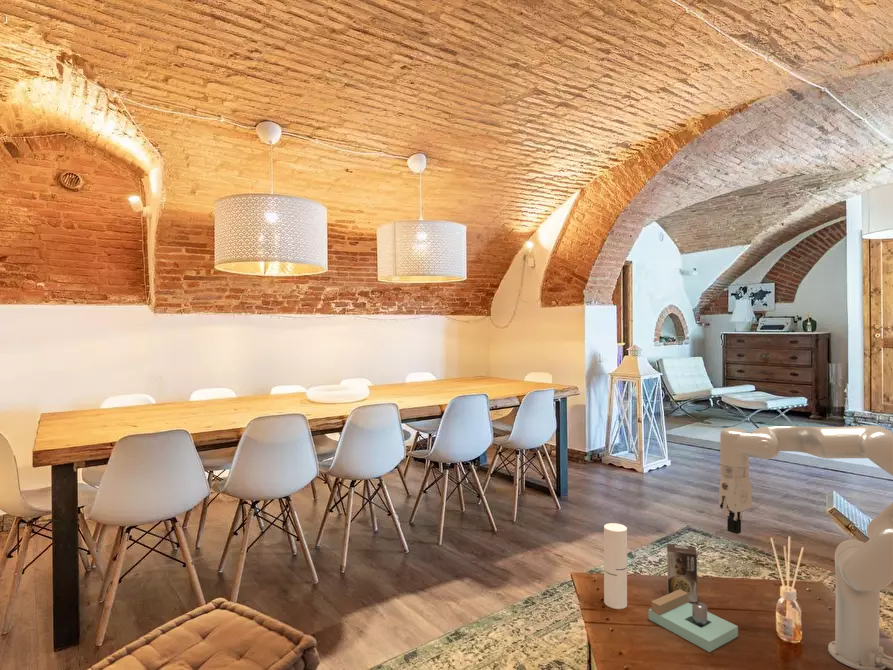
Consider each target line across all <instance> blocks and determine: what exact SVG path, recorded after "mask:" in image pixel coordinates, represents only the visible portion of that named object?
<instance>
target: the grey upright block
mask: <svg viewBox="0 0 893 670" xmlns="http://www.w3.org/2000/svg"><path fill="white" fill-rule="evenodd" d="M691 604H692V623H693V624H695V625H697V626H698V627H700V628H702V627H704V626H706V625H707V612H708V605H707V604H706V603H705V602H703V601H698V600H697V601H696V602H691Z"/></svg>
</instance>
